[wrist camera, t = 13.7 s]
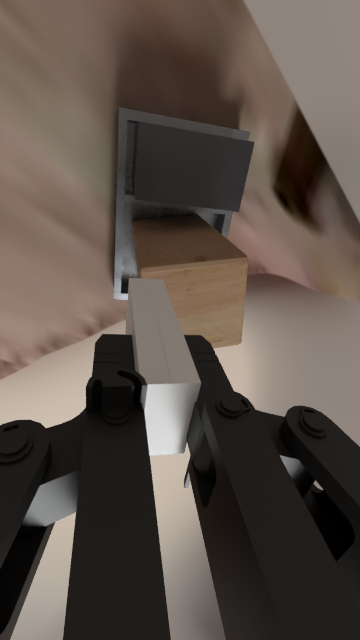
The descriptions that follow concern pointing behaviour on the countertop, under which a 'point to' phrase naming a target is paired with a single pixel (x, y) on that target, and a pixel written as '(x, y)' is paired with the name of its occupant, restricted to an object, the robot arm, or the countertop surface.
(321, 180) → the countertop surface
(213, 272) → the wooden block
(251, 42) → the countertop surface
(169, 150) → the rack
